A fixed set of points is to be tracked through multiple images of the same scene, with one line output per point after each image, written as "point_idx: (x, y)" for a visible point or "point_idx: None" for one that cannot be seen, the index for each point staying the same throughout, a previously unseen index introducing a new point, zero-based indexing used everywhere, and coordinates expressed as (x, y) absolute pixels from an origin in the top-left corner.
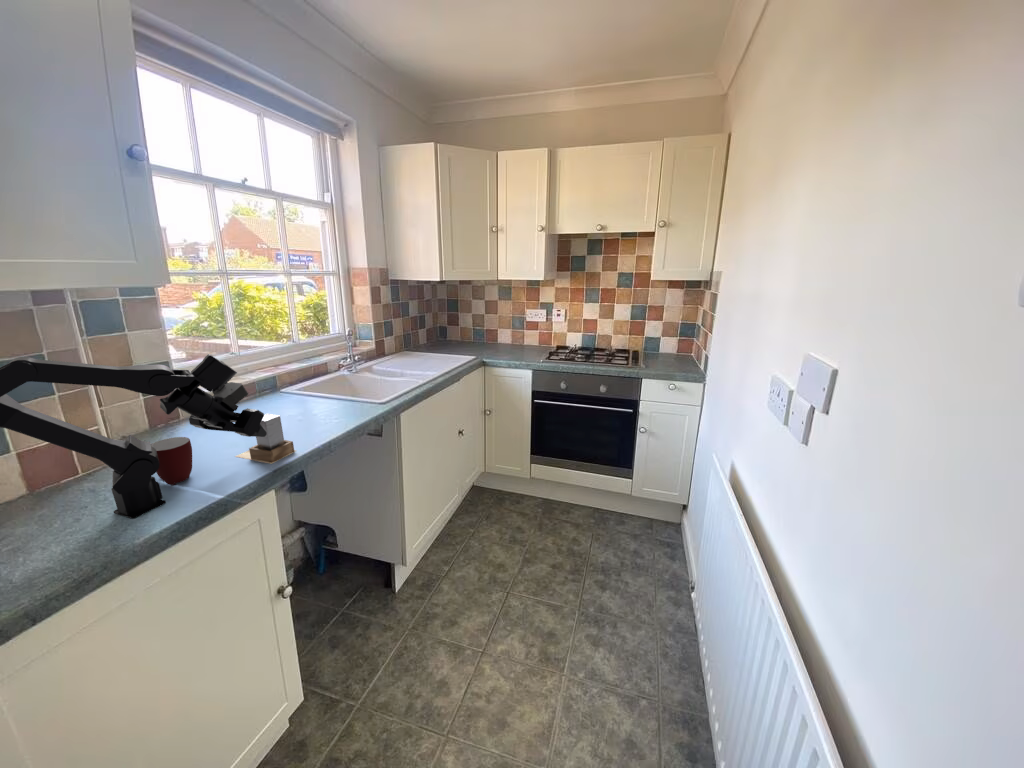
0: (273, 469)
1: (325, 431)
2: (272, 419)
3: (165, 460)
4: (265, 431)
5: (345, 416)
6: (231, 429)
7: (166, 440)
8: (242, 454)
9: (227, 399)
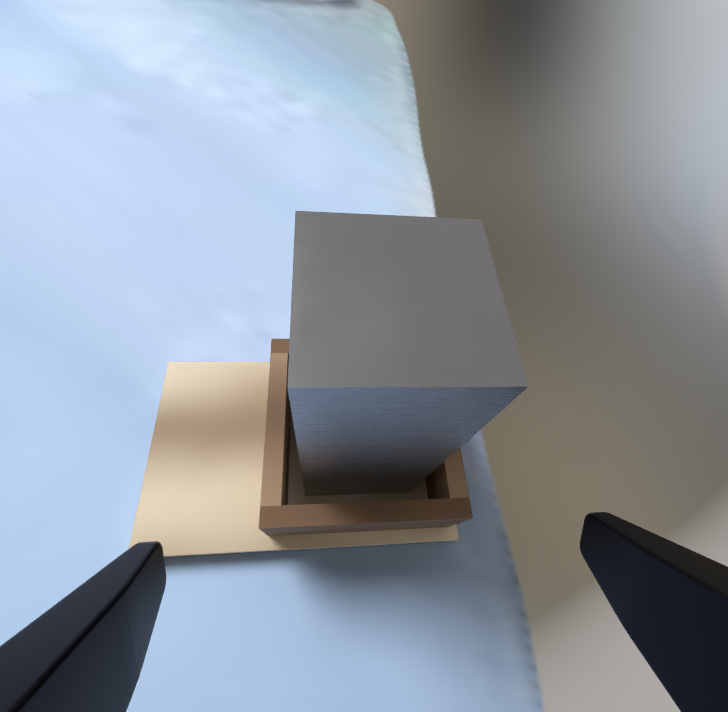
0: (506, 572)
1: (347, 180)
2: (500, 306)
3: None
4: (647, 534)
5: (304, 78)
6: (116, 698)
7: None
8: (157, 512)
9: None
